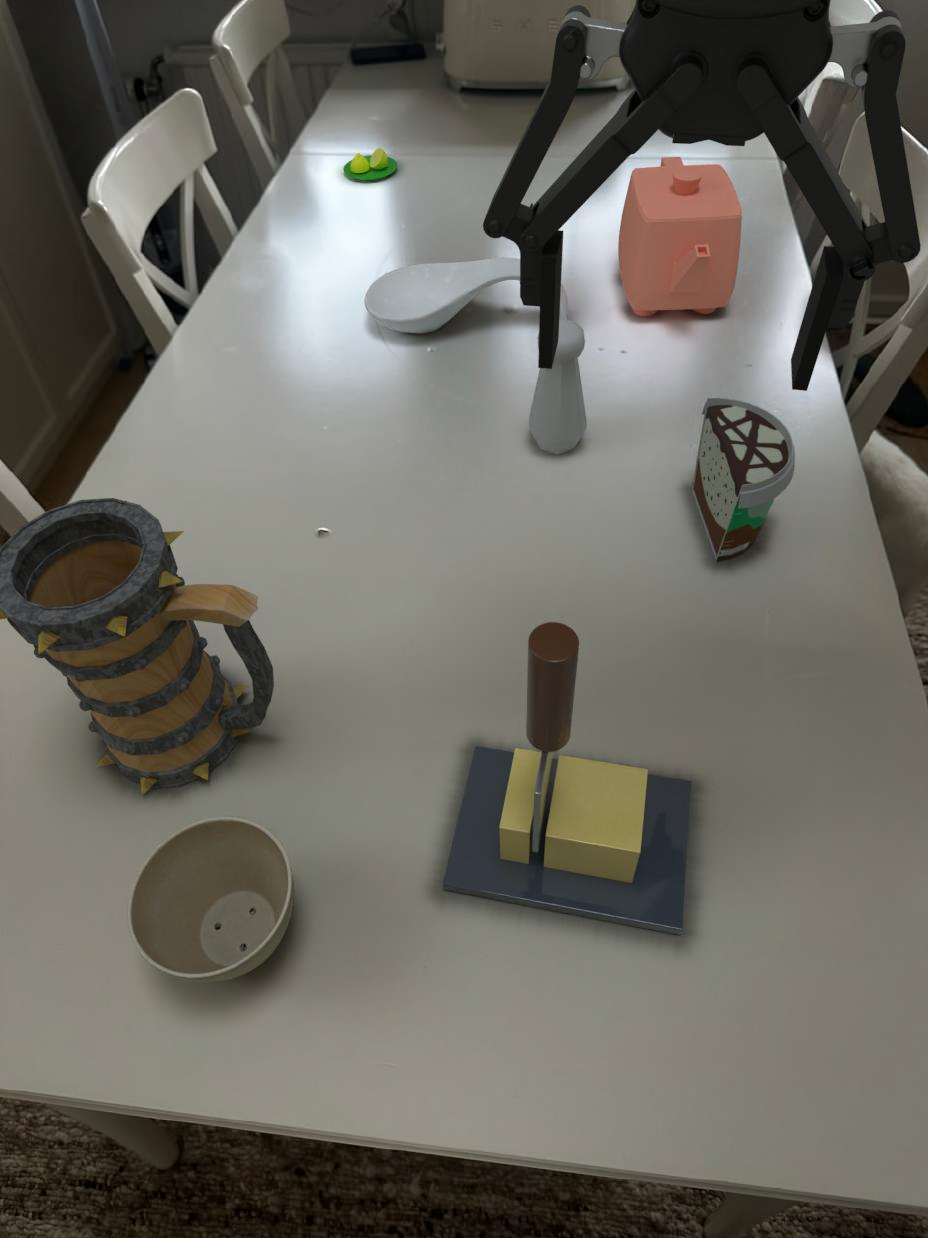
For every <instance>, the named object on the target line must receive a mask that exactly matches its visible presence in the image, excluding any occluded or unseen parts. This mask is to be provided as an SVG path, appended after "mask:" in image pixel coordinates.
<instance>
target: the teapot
mask: <svg viewBox="0 0 928 1238" xmlns="http://www.w3.org/2000/svg"><path fill="white" fill-rule="evenodd" d="M659 165H660V166H650V167H649V166H648V167H647V166H646V167H635V168H634V169H633V170H632V171H631V175H630V178H629V182H628V186H627V190H626V195H625V198H624V204H623V208H622V213H621V217H620V218H621V220H620V225H619V233H618V241H617V242H618V243H617V245H618V246H617V253H618V254H617V255H618V266H619V273H620V279H621V283H622V287H623V290H624V292H625V296H626V298H627V301H628V304H629V306H630V308H632V309H631V310H632V312H633V313H634V314H635V315H637V316H640V317H651V316H653V315H655V314H656V313H657V311H679V310H680V311H681V310H692V311H694V312H695V313H697V314H703V315H707V314H711V313H714V312H715V311H716V310H717V308H725V307H727V305H728V303H729V302H730V299H731V297H732V294H733V292H734V290H735V285H736V281H737V280H736V279H737V275H738V269H739V267H738V266H739V260H740V253H741V251H740V250H741V237H742V221H743V220H742V219H743V212H742V206H741V203H740V200H739V197H738V194H737V191H736V188H735V187H734V184H733V182H732V180H731V178H730V177H729V174H728V172H727V171H726V170H725V168H724V167H723V166H722V165H721V164H719V163H718V164H717V163H716V164H714V163H713V164H685V165H684V162H683V160H682V158H681V156H664V157H663V156H662V157H661V159H660V164H659Z"/></svg>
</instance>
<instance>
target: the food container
mask: <svg viewBox="0 0 928 1238" xmlns="http://www.w3.org/2000/svg"><path fill="white" fill-rule="evenodd" d="M701 414H702V415H703V420H702V427H701V432H700V437H699V444H698V449H697V456H696V461H695V466H694V467H695V468H694V473H693V480H692V485H691V492H692V497H693V498H694V501H695V505H696V507H697V510H698V513H699V516H700V519H701V522H702V525H703V528H704V531H705V533H706V534H705V535H706V536H707V539H708V543H709V546H710V548H711V551H712V554H713V557H714V560H715V562H716V563H717V562H718V563H719V562H724V561H730V560H732V559H735V558H737V557H740V556H742V555H744V554H745V553H747V551H749V550H750V549H751V548H752V547H753V546H754V544H755V543H756V540H757V539H758V537H759V535H760V532H761V530H762V527H763V525H764V523H765V521H766V518H767V516H768V514H769V512H770V509H771V507H772V504H773V503H774V501H775V498H777V497H778V496H780V495H781V494H783V492H784V491H786V489H787V488H788V486H789V485H790V483H792V480H793V477H794V474H795V466H796V465H795V463H796V462H795V461H796V451H795V444H794V441H793V438H792V435H791V432H790V431H789V429H788V428H787V426H786V425H785V424H784V423H783V422H782V421H781V420H780V419H779V418H778V417H777V416H775V415H774V414H773V413H771V412H769V411H768V410H766V409H764V408H762V407H760V406H758V405H755V404H753V403H750V402H748V401H743V400H739V399H734V398H727V397H707V398H706V401H705V402H704V405H703V408H702V412H701Z"/></svg>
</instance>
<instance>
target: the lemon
mask: <svg viewBox="0 0 928 1238" xmlns="http://www.w3.org/2000/svg"><path fill="white" fill-rule="evenodd" d="M397 168H398V162H397V161H396V160H395V159H394V158H392V157H390V156H388V155H387V153H386V152H385V150H384V149H383V148H382V147H377V148H376V149H375V150H373V153H372V154H368V155H361V153H360V152H357V153H356V154H355V156H354V157H353V158H352V159H351V160H350V161H348V162H347V163H345V164H344V166H343V173H344V174H345V175H346V176H347V177H349V178H352V179H356V180H359V181H377V180H379V179H383V178H386V177H387V176H389V175H391V174H393V173H394V172H395V171H396V170H397Z"/></svg>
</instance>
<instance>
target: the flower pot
mask: <svg viewBox="0 0 928 1238" xmlns="http://www.w3.org/2000/svg"><path fill="white" fill-rule="evenodd" d="M294 889H295V888H294V876H293V871H292V865H291V862H290V859H289V856H288V854H287V851H286V850H285V848H284V846H283V844H282V843H281V841H280V840H279V839H278V837H277V836H276V835H275V834H274V833H273V832H271V831H270V830H269V829H268V828H267V827H265V826H264V825H262V824H260V823H259V822H256V821H254V820H251V819H248V818H245V817H242V816H241V817H240V816H231V815H220V816H211V817H207V818H203V819H199V820H196V821H194V822H191V823H189V824H187V825H184V826H182V827H181V828H179V829H177V830H176V831H174V832H173V833H171V834H170V835H168V836H167V837H166V838H164V839H163V840H162V841H161V842H160V843H158V845H157V846H156V847H155V848H154V849H153V850H152V851H151V852H150V853H149V855H147V857H146V858H145V860H144V861H143V863H142V864H141V865H140V868H139V869H138V870H137V873H136V875H135V877H134V878H133V881H132V885H131V887H130V890H129V895H128V900H127V907H126V920H127V928H128V932H129V935H130V938H131V941H132V943H133V945H134V946H135V947H134V948H136V950H137V952H138V953H139V954H140V955H141V957H142V958H143V959H144V960H145V961H146V962H148V963H149V964H150V965H151V966H152V967H154V968H156V969H157V970H159V971H161V972H163V973H165V974H167V975H169V976H172V977H175V978H178V979H181V980H186V981H190V982H197V983H214V982H215V983H216V982H223V981H228V980H231V979H235V978H238V977H240V976H243V975H245V974H247V973H249V972H251V971H253V970H254V969H256V968H257V967H259V966H260V965H262V963H264V962H265V961H266V960H267V959H268V958H269V957H270V956H271V955H272V954H273V953H274V951H276V949H277V947H278V946H279V944H280V943H281V941H282V939H283V938H284V936H285V933H286V931H287V929H288V926H289V923H290V920H291V916H292V913H293V905H294V891H295V890H294ZM218 928H219V929H218ZM245 947H246V948H245Z"/></svg>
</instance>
